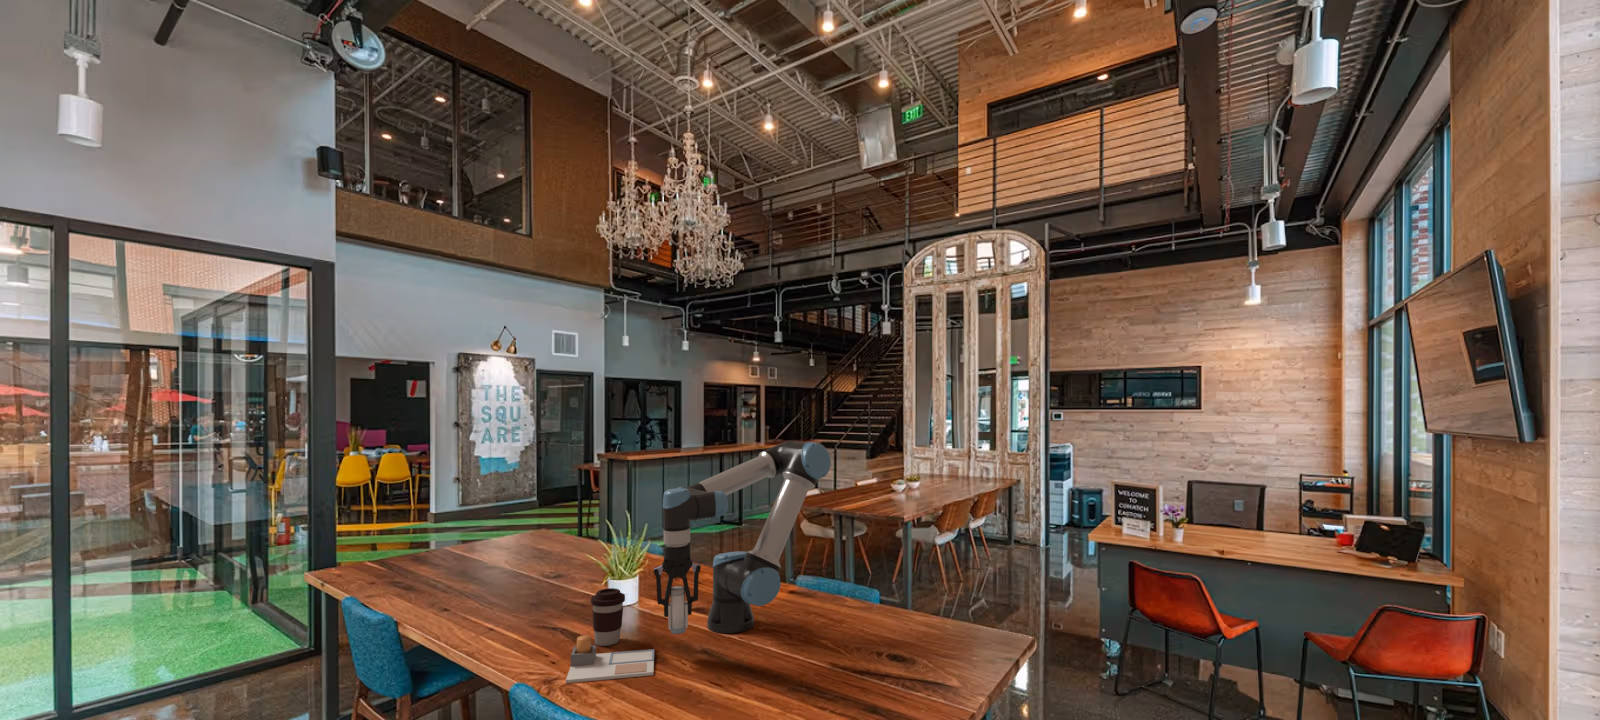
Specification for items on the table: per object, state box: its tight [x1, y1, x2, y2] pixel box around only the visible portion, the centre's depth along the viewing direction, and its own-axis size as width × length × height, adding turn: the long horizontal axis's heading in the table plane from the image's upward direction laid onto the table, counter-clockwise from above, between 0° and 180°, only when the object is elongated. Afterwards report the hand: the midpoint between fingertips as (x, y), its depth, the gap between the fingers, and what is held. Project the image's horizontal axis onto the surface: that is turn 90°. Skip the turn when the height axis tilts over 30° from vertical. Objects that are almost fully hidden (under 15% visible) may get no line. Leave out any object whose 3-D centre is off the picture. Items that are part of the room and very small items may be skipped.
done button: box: [576, 634, 592, 654], centre depth 172 cm, size 4×4×5 cm
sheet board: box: [565, 644, 655, 684], centre depth 170 cm, size 22×16×4 cm
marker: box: [670, 585, 686, 635], centre depth 177 cm, size 4×4×12 cm
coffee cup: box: [590, 587, 626, 647], centre depth 188 cm, size 10×10×15 cm
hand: (678, 627), depth 176 cm, fingers closed on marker, 4 cm apart
